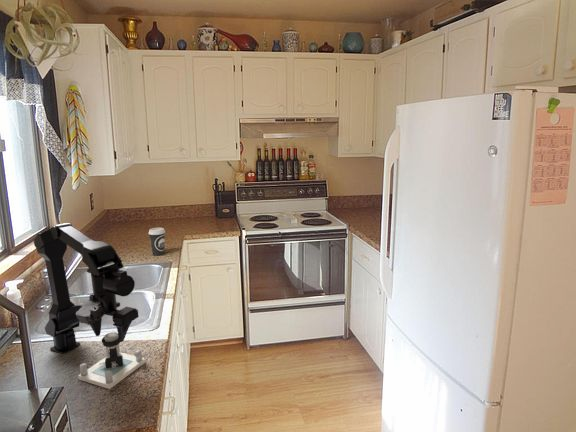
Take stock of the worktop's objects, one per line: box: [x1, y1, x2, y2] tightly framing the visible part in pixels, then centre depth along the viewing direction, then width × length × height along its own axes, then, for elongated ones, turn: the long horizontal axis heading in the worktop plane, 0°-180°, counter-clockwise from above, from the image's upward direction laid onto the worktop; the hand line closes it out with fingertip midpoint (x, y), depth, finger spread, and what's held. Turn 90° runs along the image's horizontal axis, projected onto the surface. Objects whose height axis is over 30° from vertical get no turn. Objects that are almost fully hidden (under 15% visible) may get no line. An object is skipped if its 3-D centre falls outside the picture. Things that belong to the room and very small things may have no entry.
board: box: [77, 346, 146, 390], centre depth 118 cm, size 12×14×4 cm
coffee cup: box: [147, 227, 166, 257], centre depth 229 cm, size 10×10×15 cm
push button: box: [99, 331, 123, 368], centre depth 117 cm, size 7×5×10 cm
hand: (109, 338), depth 116 cm, fingers open, 9 cm apart
